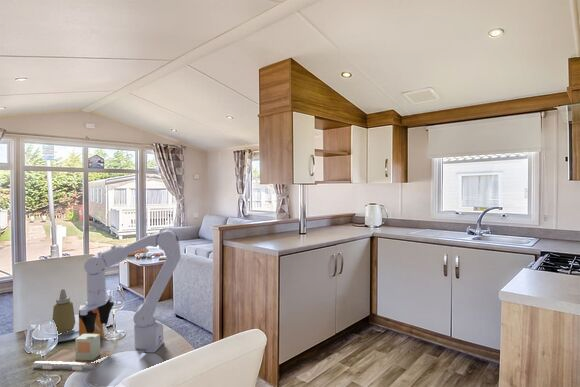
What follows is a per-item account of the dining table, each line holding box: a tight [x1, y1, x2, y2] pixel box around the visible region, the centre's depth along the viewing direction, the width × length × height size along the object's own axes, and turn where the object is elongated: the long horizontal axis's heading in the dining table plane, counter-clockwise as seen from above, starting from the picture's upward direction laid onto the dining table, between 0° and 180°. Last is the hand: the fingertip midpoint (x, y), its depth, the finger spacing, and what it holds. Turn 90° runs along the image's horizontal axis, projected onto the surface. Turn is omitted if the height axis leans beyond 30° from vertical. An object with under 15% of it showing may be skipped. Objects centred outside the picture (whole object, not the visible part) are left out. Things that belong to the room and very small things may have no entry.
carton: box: [74, 334, 101, 360], centre depth 113 cm, size 4×6×7 cm, turn 86°
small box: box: [78, 304, 104, 338], centre depth 130 cm, size 8×6×13 cm
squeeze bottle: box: [51, 288, 76, 334], centre depth 135 cm, size 8×8×18 cm
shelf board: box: [33, 348, 116, 371], centre depth 111 cm, size 20×12×3 cm, turn 86°
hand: (97, 327), depth 117 cm, fingers open, 7 cm apart
